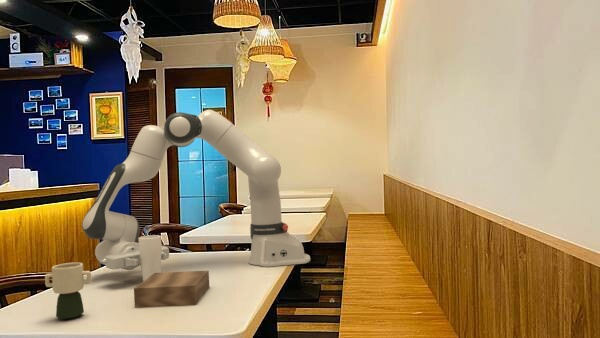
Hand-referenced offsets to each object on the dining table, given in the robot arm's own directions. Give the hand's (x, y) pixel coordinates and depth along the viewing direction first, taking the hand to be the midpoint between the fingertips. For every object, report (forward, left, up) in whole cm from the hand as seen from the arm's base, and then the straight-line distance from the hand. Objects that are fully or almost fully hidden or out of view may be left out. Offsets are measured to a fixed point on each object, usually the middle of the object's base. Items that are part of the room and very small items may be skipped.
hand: (151, 259), depth 151 cm
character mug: (+11, +30, -8) cm, 33 cm away
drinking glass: (0, 0, -8) cm, 8 cm away
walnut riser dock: (-11, +15, -8) cm, 20 cm away
